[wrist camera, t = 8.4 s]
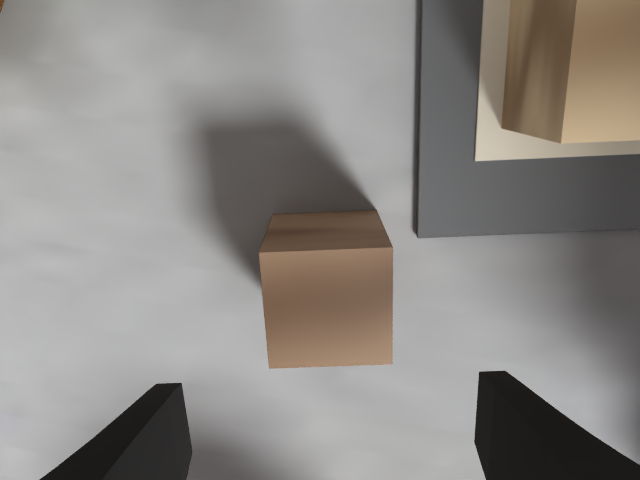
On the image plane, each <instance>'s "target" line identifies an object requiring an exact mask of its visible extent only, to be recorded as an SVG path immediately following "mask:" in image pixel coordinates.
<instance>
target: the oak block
mask: <svg viewBox="0 0 640 480" xmlns="http://www.w3.org/2000/svg"><path fill="white" fill-rule="evenodd" d="M501 129H505V130H509V131H513V132H517V133H521V134H525V135H529V136H533V137H537V138H541V139H545V140H548V141H552V142H556V143H560V144H565V143H587V142H609V141H631V140H640V0H511V3H510V16H509V30H508V44H507V58H506V72H505V86H504V100H503V114H502V127H501Z"/></svg>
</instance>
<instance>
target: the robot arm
mask: <svg viewBox="0 0 640 480" xmlns="http://www.w3.org/2000/svg"><path fill="white" fill-rule="evenodd" d="M474 442H475V445H476V448H477V452H478V455H479V459H480V462H481V465H482V468H483V471H484V474H485V478H486V480H640V465H639V464H637V463H635V462H634V461H632V460H631V459H629V458H627V457H626V456H624V455H622V454H621V453H619V452H618V451H616V450H615V449H613V448H612V447H610V446H609V445H607V444H606V443H604V442H602V441H601V440H599V439H598V438H596V437H595V436H593V435H592V434H590V433H589V432H588V431H586V430H585V429H583V428H582V427H580V426H579V425H577V424H576V423H575V422H573V421H572V420H570V419H569V418H568V417H566V416H565V415H564V414H562V413H561V412H559V411H558V410H557V409H555V408H554V407H553V406H551V405H550V404H549V403H547V402H546V401H545V400H543V399H542V398H541V397H539V396H538V395H537V394H536V393H534V392H533V391H532V390H530V389H529V388H528V387H526V386H525V385H524V384H522V383H521V382H520V381H518V380H517V379H516V378H514V377H513V376H512V375H510V374H509V373H507V372H506V371H487V372H479V383H478V398H477V412H476V427H475V441H474ZM191 455H192V446H191V440H190V434H189V427H188V421H187V415H186V408H185V402H184V396H183V389H182V383H166V384H156V385H155V386H153V387H152V388H151V389H150V390H148V391H147V392H146V393H145V394H144V395H143V396H141V397H140V398H139V399H138V400H137V401H136V402H135V403H133V404H132V405H131V406H130V407H129V408H128V409H127V410H125V411H124V412H123V413H122V414H121V415H120V416H119V417H117V418H116V419H115V420H114V421H113V422H111V423H110V424H109V425H108V426H107V427H106V428H104V429H103V430H102V431H101V432H100V433H99V434H97V435H96V436H95V437H94V438H93V439H91V440H90V441H89V442H88V443H86V444H85V445H84V446H83V447H81V448H80V449H79V450H78V451H76V452H75V453H74V454H72V455H71V456H70V457H69V458H67V459H66V460H65V461H64V462H62V463H61V464H60V465H59V466H57V467H56V468H55V469H53V470H52V471H51V472H49V473H48V474H47V475H45V476H44V477H42V478H41V479H40V480H186V478H187V474H188V469H189V465H190V460H191Z"/></svg>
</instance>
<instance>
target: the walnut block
mask: <svg viewBox="0 0 640 480" xmlns="http://www.w3.org/2000/svg"><path fill="white" fill-rule="evenodd" d="M259 261H260V272H261V284H262V295H263V306H264V318H265V329H266V340H267V351H268V363H269V369H270V368H298V367H326V366H354V365H382V364H392V321H393V247H392V244H391V242H390V240H389V237H388V235H387V233H386V230H385V228H384V226H383V224H382V221H381V219H380V217H379V214H378V212H377V210H367V211H342V212H318V213H294V214H273V216H272V218H271V221H270V224H269V226H268V229H267V232H266V235H265V237H264V240H263V243H262V245H261V248H260V251H259Z"/></svg>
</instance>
